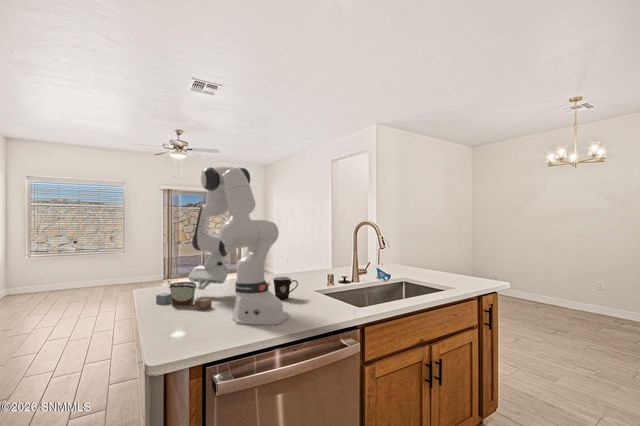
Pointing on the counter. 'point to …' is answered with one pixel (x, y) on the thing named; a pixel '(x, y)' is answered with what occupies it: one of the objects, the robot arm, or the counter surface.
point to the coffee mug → (283, 287)
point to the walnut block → (202, 304)
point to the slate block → (163, 298)
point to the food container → (182, 293)
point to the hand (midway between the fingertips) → (200, 289)
